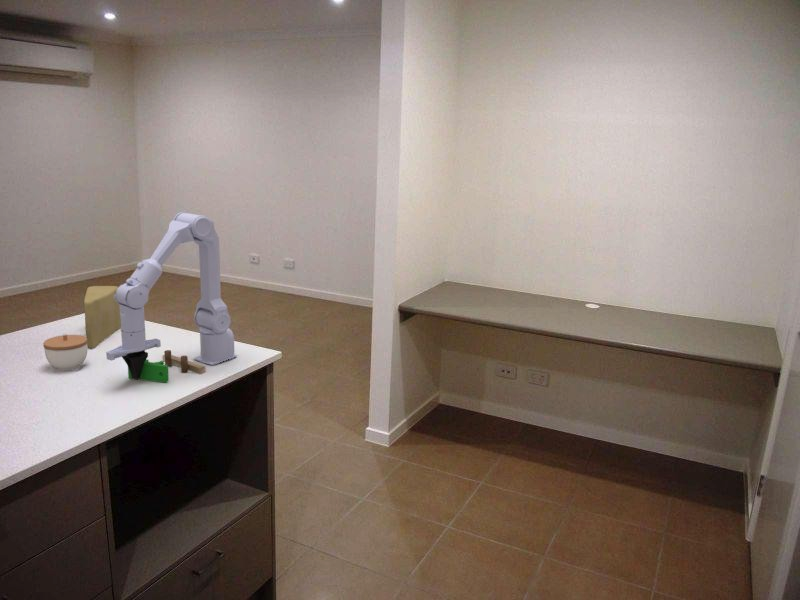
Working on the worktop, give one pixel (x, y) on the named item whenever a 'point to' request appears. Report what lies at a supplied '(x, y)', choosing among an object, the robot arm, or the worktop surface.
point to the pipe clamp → (153, 372)
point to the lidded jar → (66, 351)
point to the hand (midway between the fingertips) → (136, 378)
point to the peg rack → (182, 363)
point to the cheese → (100, 314)
